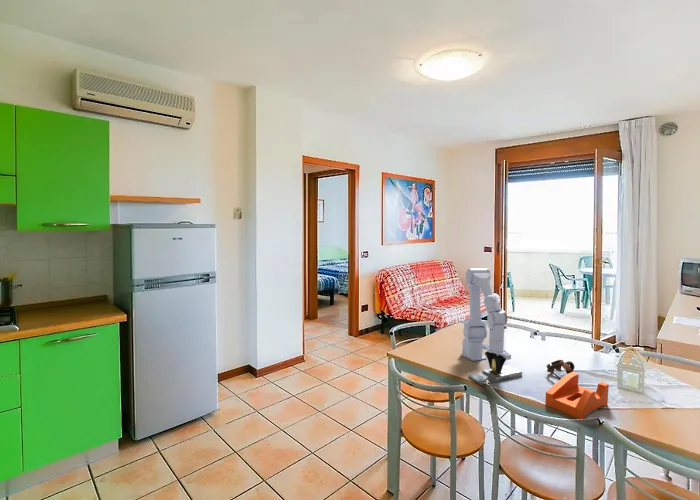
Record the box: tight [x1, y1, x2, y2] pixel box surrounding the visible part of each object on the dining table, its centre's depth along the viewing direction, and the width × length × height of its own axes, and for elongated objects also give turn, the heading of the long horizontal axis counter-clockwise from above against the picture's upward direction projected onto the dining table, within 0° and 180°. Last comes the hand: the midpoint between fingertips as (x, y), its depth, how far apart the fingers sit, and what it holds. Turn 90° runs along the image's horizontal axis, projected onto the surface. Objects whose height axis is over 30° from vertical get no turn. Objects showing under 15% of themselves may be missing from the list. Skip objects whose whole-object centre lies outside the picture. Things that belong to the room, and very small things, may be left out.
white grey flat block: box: [468, 364, 523, 386], centre depth 161 cm, size 22×8×2 cm, turn 113°
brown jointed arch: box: [546, 359, 575, 374], centre depth 161 cm, size 12×10×8 cm
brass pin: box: [492, 357, 499, 375], centre depth 160 cm, size 3×3×7 cm
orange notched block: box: [544, 371, 610, 420], centre depth 136 cm, size 18×13×8 cm
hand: (495, 370), depth 160 cm, fingers closed on brass pin, 3 cm apart
